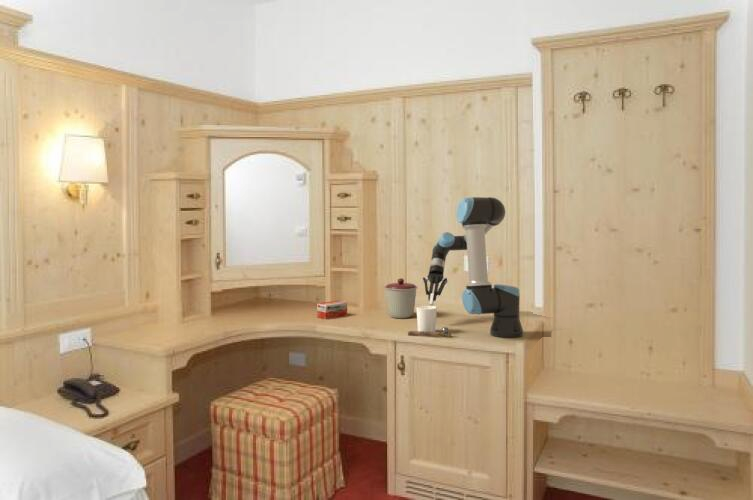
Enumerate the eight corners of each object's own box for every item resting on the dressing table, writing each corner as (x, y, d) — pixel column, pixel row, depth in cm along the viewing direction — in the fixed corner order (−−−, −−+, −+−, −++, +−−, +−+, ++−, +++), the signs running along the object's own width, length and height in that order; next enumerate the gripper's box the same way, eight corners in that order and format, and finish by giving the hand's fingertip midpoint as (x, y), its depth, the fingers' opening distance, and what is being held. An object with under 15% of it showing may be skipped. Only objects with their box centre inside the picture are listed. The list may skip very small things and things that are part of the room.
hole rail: (451, 336, 292) (451, 332, 291) (449, 337, 288) (449, 334, 288) (409, 334, 297) (409, 330, 297) (408, 335, 294) (408, 332, 294)
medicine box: (326, 319, 336) (325, 305, 335) (316, 317, 342) (316, 303, 341) (347, 316, 346) (347, 301, 345) (338, 314, 352) (338, 300, 351)
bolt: (448, 332, 291) (448, 327, 291) (447, 334, 289) (447, 328, 289) (442, 332, 292) (442, 327, 292) (441, 333, 290) (441, 328, 289)
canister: (423, 318, 336) (423, 279, 334) (392, 321, 330) (391, 281, 328) (409, 312, 353) (408, 275, 351) (379, 315, 346) (379, 277, 345)
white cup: (419, 334, 295) (419, 309, 295) (414, 330, 305) (413, 306, 304) (439, 333, 297) (439, 308, 297) (433, 329, 307) (433, 305, 306)
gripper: (450, 273, 329) (444, 310, 315) (425, 272, 333) (419, 309, 318) (448, 264, 324) (442, 301, 309) (423, 263, 327) (417, 300, 313)
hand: (431, 305), depth 314 cm, fingers closed
